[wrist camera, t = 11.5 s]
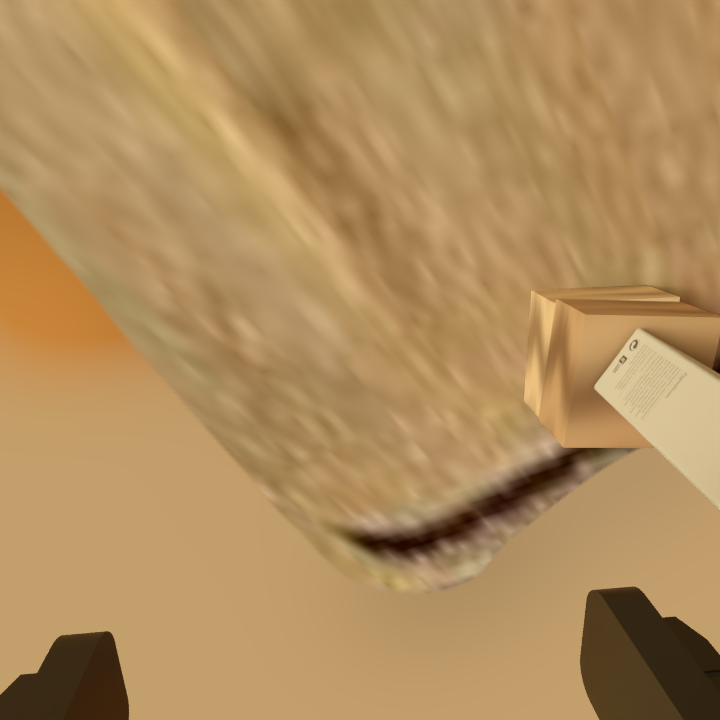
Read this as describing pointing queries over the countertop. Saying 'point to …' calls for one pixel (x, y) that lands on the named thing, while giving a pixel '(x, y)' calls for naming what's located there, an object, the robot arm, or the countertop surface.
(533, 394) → the block lower
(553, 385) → the tan square block
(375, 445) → the countertop surface
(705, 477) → the skincare box
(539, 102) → the countertop surface
